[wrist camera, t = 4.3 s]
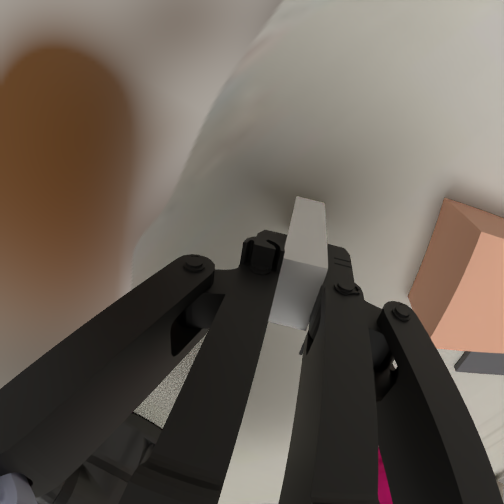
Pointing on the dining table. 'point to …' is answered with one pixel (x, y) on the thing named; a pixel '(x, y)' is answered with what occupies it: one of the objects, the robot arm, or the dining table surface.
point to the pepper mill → (383, 483)
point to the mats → (481, 363)
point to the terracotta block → (463, 281)
